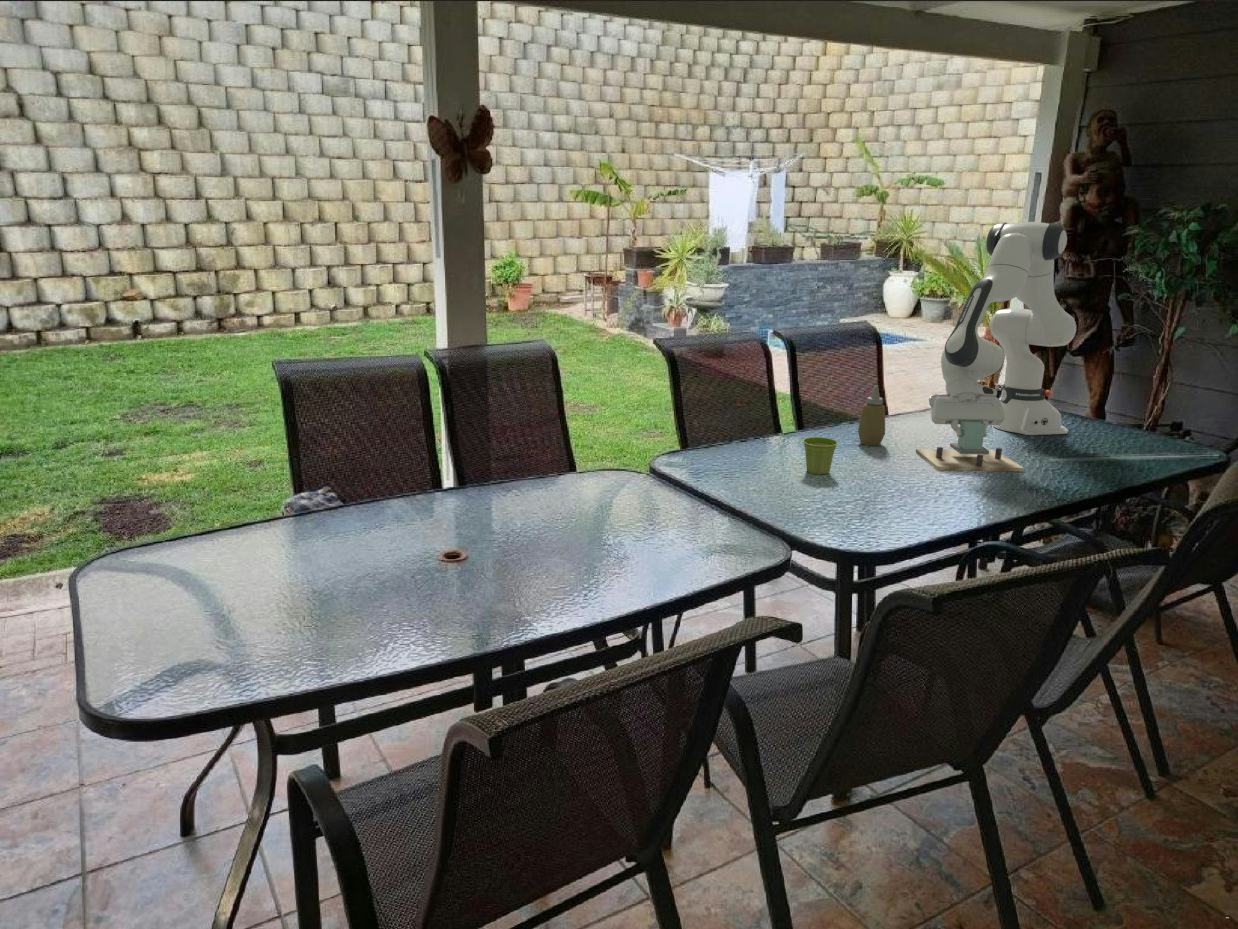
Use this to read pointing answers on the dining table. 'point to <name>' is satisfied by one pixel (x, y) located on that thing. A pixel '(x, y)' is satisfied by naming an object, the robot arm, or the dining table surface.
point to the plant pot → (819, 454)
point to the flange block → (971, 438)
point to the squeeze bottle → (872, 420)
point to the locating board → (968, 460)
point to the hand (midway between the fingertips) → (972, 436)
